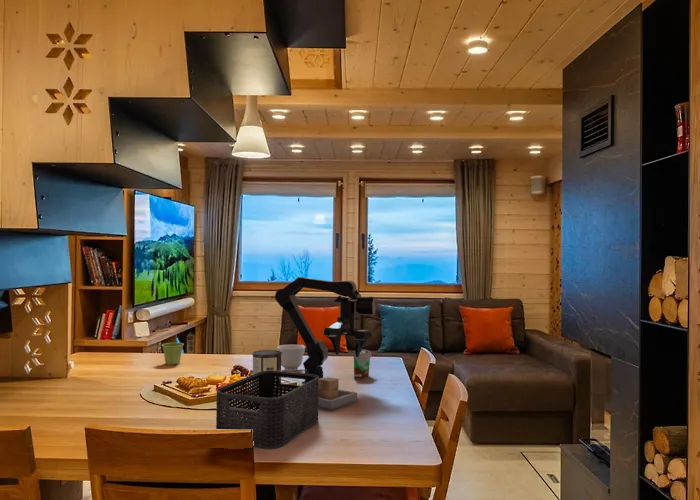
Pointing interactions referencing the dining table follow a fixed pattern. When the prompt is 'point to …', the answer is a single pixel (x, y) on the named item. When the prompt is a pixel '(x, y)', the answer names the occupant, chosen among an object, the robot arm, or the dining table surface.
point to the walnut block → (328, 388)
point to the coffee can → (266, 361)
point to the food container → (362, 364)
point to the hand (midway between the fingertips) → (347, 355)
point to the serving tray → (338, 400)
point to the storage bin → (269, 407)
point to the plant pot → (172, 353)
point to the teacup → (291, 356)
